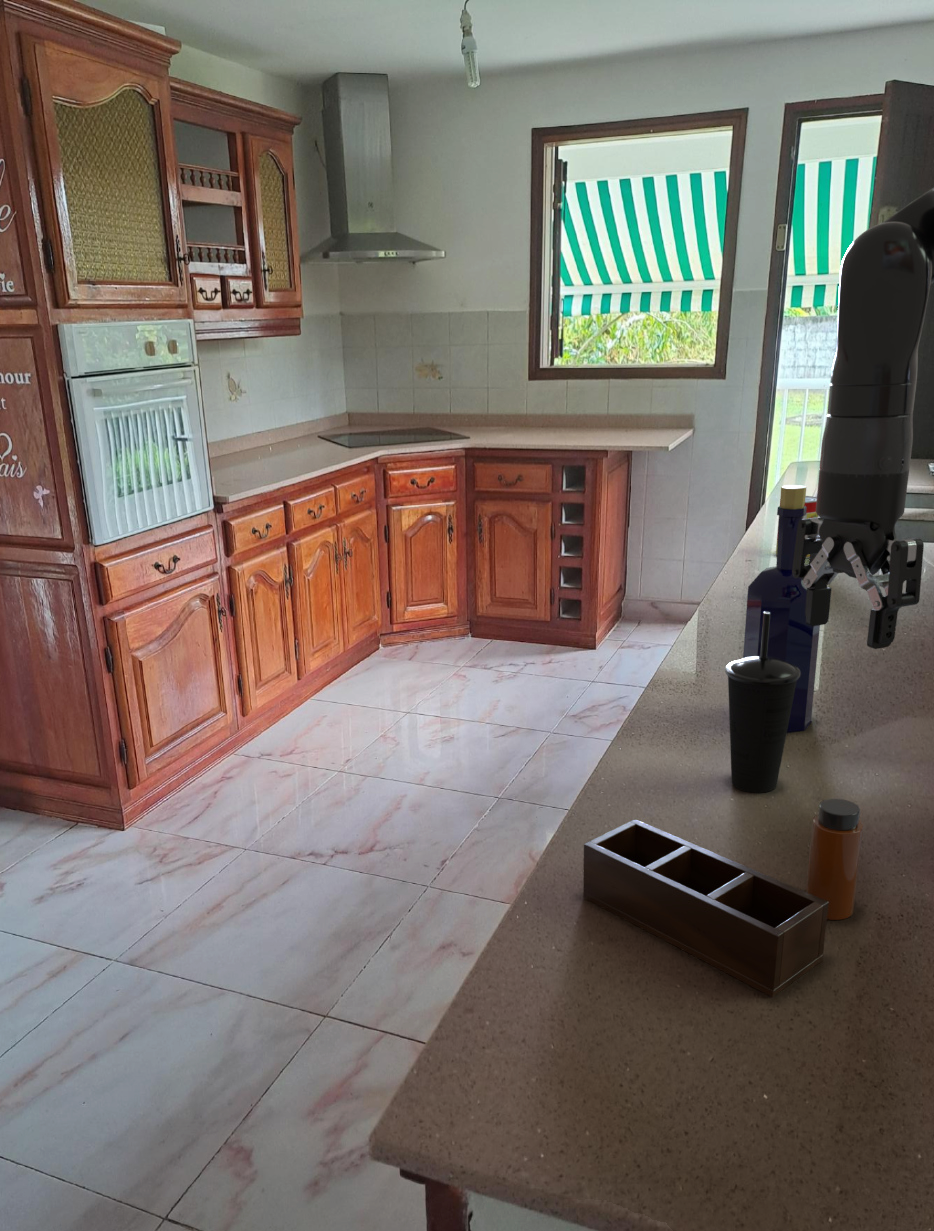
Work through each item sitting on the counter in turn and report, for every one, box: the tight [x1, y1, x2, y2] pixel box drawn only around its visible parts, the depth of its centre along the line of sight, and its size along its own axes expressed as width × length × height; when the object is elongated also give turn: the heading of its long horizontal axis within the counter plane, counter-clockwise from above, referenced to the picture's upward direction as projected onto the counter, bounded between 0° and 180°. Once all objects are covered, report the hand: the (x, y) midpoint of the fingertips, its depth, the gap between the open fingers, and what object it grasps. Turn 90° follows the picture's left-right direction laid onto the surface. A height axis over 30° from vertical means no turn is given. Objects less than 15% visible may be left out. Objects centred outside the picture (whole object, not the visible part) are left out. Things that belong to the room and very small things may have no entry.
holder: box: [582, 818, 829, 998], centre depth 85 cm, size 7×20×6 cm, turn 38°
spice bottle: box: [805, 798, 864, 921], centre depth 86 cm, size 4×4×10 cm
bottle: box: [742, 484, 821, 734], centre depth 124 cm, size 9×9×30 cm
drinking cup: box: [724, 612, 800, 794], centre depth 108 cm, size 8×8×20 cm
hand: (846, 635), depth 96 cm, fingers open, 8 cm apart
